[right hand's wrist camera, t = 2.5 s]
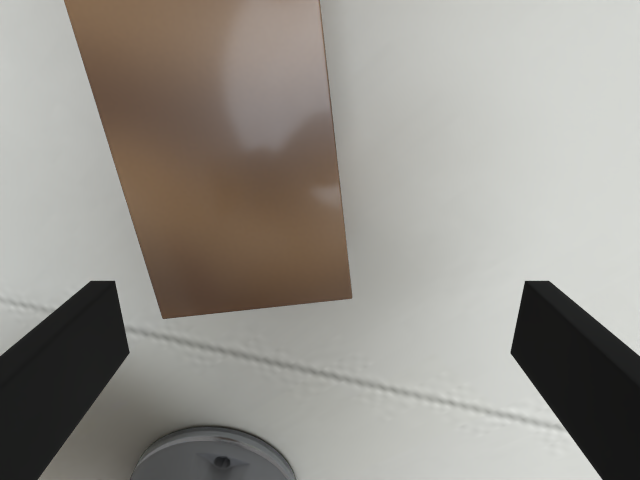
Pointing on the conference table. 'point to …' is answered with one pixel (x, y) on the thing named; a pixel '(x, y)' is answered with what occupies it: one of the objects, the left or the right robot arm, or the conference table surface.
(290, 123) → the cabinet
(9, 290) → the conference table surface
